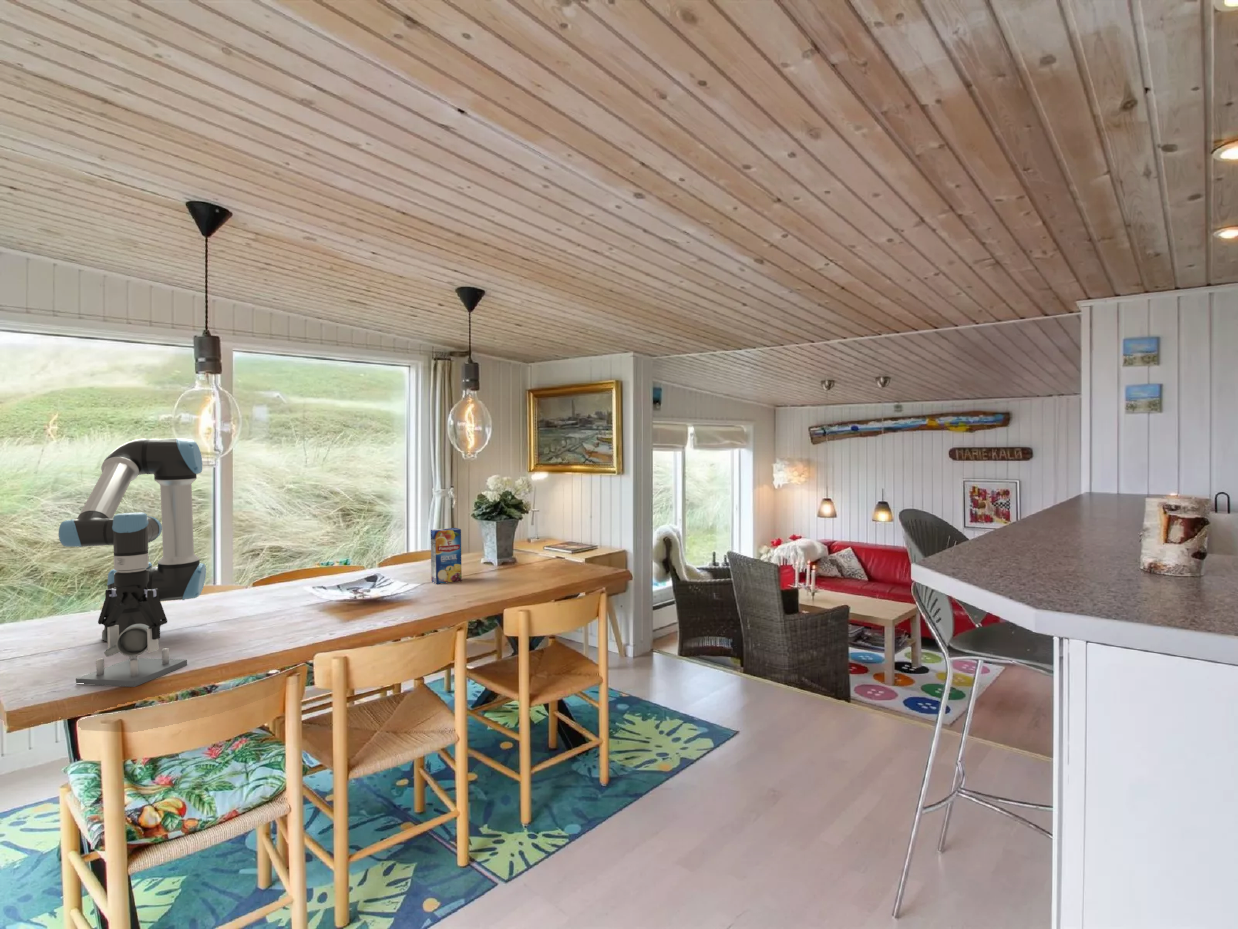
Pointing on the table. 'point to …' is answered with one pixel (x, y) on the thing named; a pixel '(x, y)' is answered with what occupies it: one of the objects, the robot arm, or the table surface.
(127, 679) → the pin plate
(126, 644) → the ceramic mug
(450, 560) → the juice carton
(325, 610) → the table surface
